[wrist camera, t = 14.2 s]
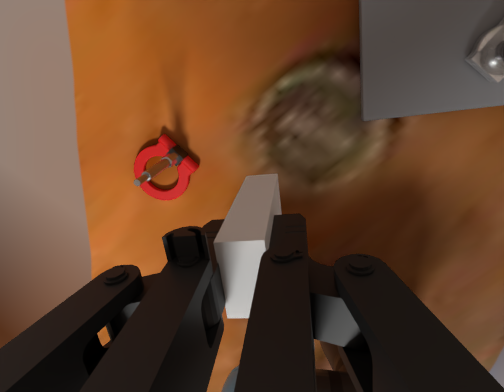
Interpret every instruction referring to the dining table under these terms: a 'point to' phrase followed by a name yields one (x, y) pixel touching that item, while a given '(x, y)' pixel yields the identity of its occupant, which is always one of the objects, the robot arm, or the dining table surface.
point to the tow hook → (170, 157)
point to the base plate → (424, 56)
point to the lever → (489, 53)
